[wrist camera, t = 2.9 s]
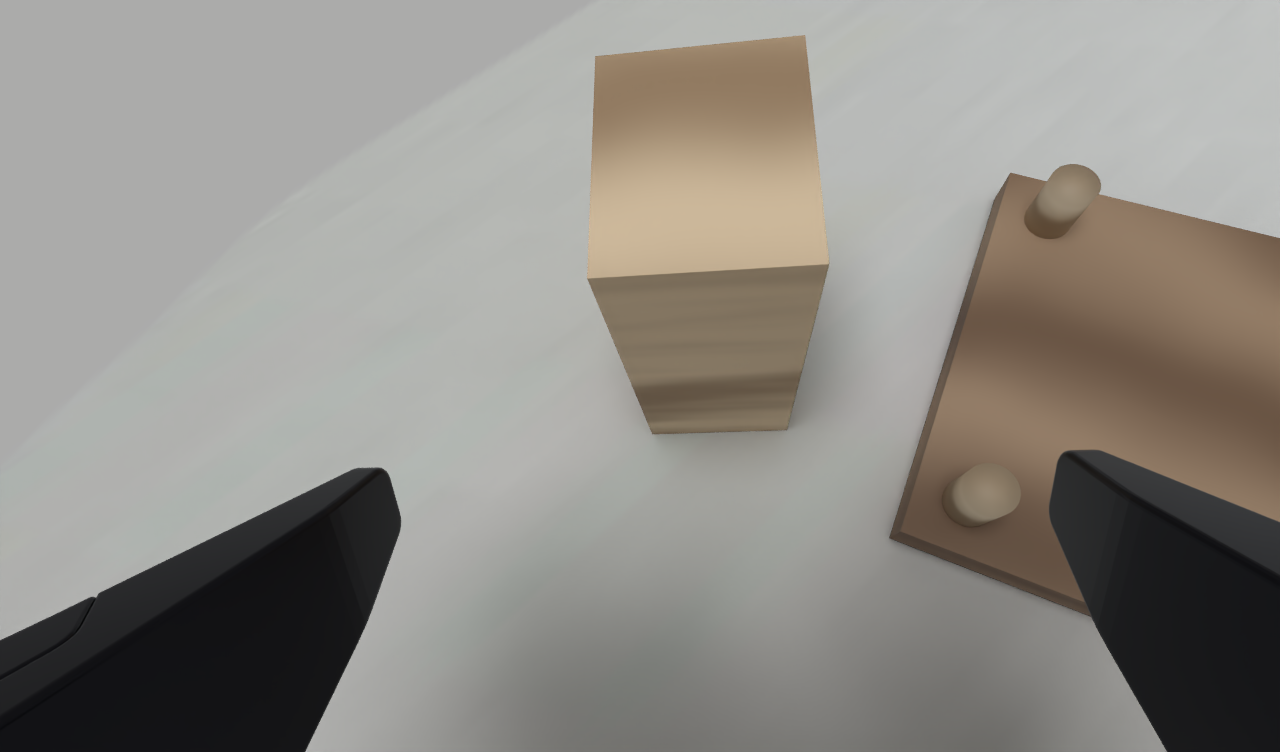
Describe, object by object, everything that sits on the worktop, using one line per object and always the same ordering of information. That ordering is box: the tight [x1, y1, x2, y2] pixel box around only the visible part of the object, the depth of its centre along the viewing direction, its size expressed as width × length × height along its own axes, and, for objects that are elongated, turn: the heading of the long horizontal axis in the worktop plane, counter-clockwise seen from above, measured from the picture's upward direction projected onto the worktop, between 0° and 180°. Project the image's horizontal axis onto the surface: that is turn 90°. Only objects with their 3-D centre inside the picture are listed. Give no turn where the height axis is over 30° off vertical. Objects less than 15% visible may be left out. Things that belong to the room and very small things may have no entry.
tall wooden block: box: [587, 35, 829, 434], centre depth 19 cm, size 6×4×11 cm
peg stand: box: [890, 164, 1280, 616], centre depth 20 cm, size 13×12×4 cm
